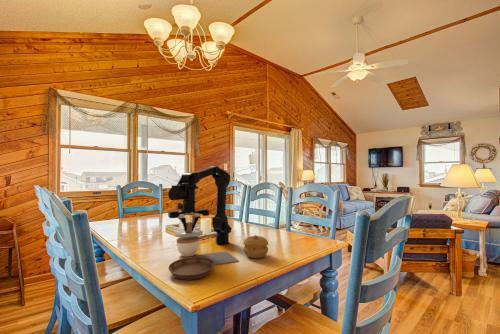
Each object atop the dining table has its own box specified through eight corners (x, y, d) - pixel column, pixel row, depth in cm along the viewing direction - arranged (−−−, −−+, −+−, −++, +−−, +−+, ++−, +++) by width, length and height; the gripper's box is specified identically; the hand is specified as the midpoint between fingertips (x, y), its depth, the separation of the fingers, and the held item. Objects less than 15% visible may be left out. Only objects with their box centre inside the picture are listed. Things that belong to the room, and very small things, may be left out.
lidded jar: (194, 258, 119) (193, 237, 119) (172, 257, 121) (172, 237, 121) (203, 251, 129) (202, 232, 130) (183, 251, 132) (182, 232, 132)
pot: (240, 254, 127) (240, 233, 127) (262, 251, 131) (262, 231, 131) (248, 262, 116) (248, 239, 116) (272, 259, 120) (272, 237, 120)
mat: (226, 251, 131) (226, 251, 131) (238, 261, 116) (238, 260, 116) (194, 256, 123) (194, 255, 123) (203, 267, 109) (203, 266, 109)
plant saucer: (218, 278, 97) (217, 270, 97) (168, 285, 92) (168, 276, 92) (211, 262, 114) (211, 255, 114) (168, 266, 109) (168, 259, 109)
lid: (198, 230, 134) (198, 219, 134) (206, 235, 123) (206, 223, 123) (172, 232, 128) (172, 221, 129) (177, 238, 117) (177, 226, 117)
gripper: (203, 196, 137) (203, 226, 137) (166, 198, 129) (166, 229, 129) (209, 198, 127) (209, 230, 127) (170, 200, 119) (170, 234, 119)
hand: (188, 231), depth 126 cm, fingers closed on lid, 3 cm apart
